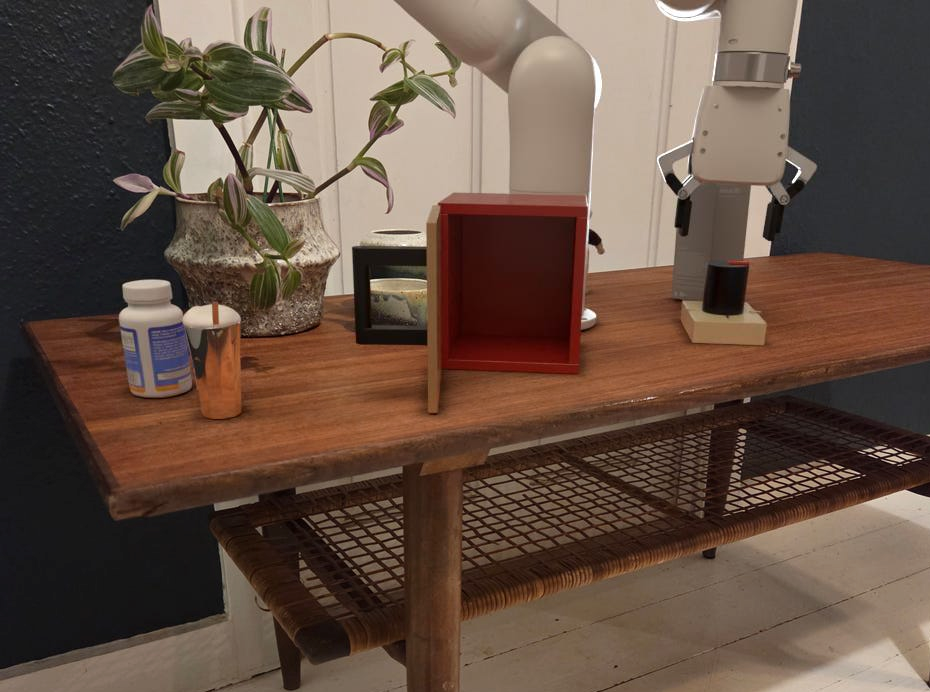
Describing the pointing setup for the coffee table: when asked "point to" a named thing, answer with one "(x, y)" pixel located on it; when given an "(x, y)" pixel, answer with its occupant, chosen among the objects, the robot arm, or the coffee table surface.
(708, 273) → the knob
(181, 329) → the pill bottle
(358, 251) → the door
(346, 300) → the coffee table surface
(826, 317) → the coffee table surface
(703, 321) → the panel
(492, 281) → the red cabinet
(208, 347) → the milkshake
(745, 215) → the cosmetic box
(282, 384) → the coffee table surface
